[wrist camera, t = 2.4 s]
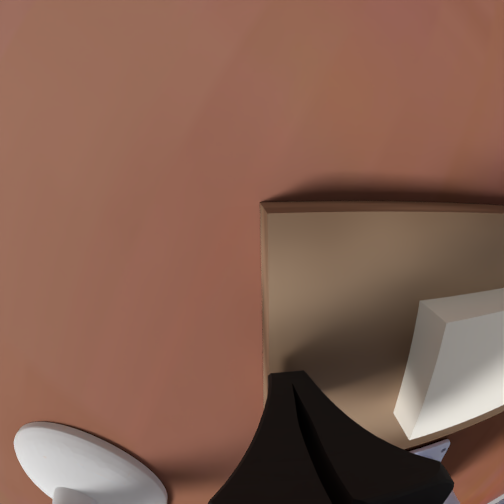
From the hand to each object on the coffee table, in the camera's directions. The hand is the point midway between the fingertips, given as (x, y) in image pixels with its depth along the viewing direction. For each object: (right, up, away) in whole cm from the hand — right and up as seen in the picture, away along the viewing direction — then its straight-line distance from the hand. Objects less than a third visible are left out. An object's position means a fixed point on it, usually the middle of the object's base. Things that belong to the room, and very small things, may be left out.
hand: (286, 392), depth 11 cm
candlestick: (-14, -12, +7) cm, 20 cm away
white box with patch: (+10, 0, 0) cm, 10 cm away
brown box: (+8, +1, +4) cm, 9 cm away
